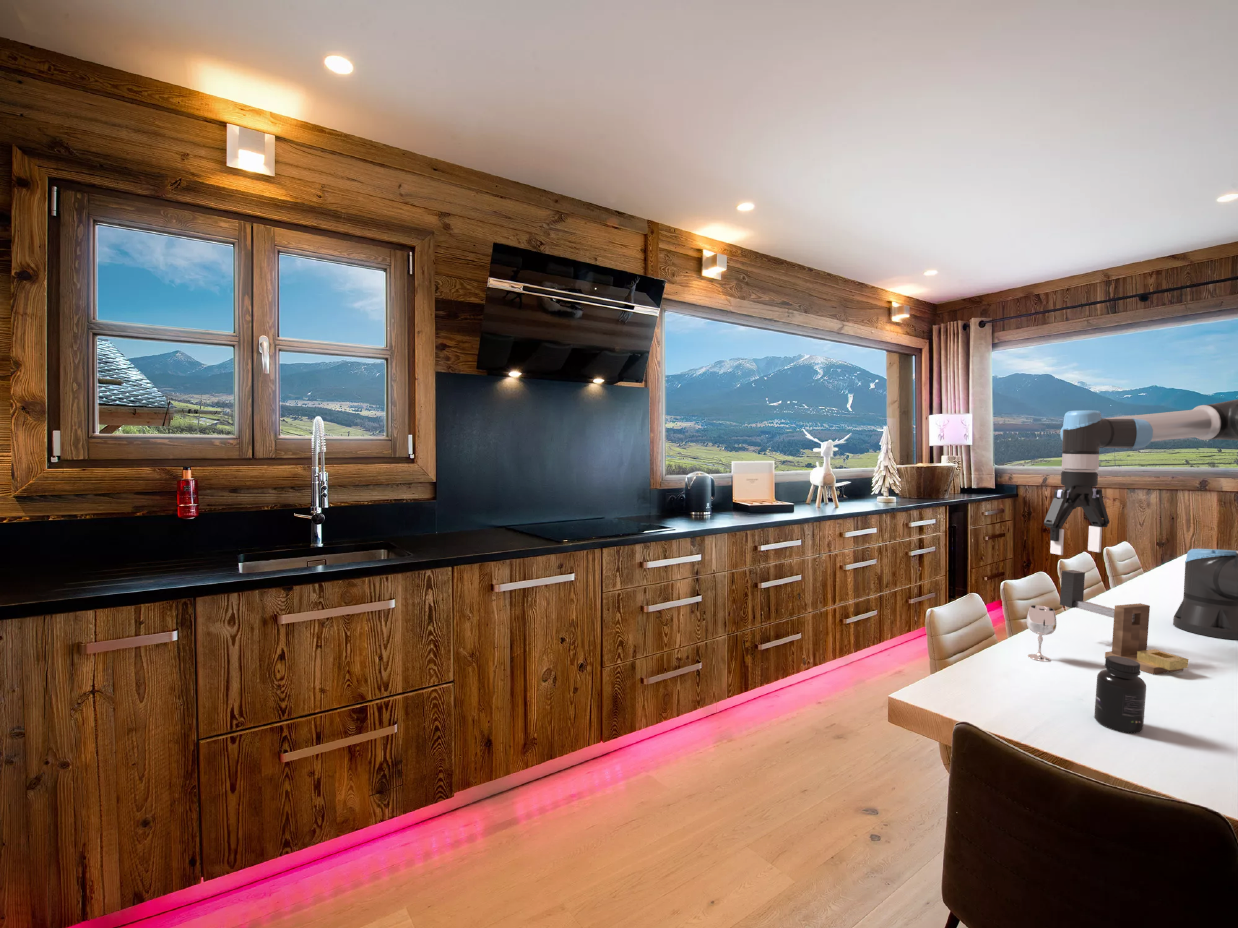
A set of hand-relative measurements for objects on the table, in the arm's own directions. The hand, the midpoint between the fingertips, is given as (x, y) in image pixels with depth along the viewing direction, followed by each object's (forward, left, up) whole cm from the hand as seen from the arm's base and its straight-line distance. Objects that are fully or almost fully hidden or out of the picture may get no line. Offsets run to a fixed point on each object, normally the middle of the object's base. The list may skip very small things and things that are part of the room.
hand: (1075, 552), depth 154 cm
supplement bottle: (+40, +37, -23) cm, 59 cm away
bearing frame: (0, +16, -23) cm, 28 cm away
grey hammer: (0, +6, -14) cm, 15 cm away
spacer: (0, +17, -20) cm, 27 cm away
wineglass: (+21, +8, -23) cm, 32 cm away
